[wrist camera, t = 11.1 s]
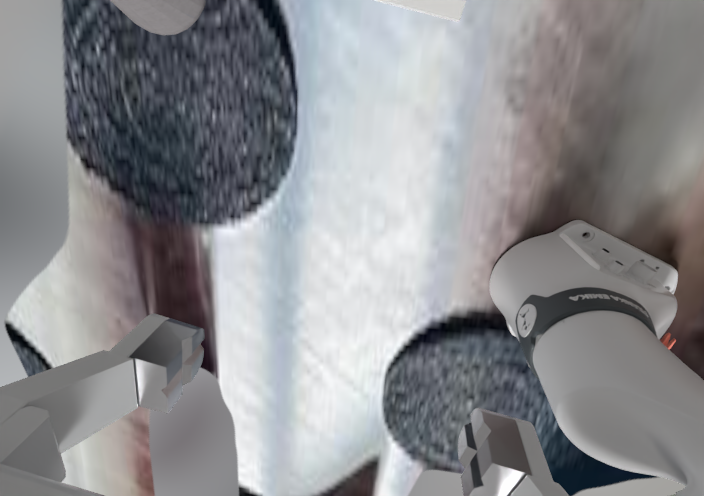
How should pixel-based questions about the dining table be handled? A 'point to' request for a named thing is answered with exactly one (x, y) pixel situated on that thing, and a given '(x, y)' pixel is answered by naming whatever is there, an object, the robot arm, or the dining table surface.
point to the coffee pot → (162, 14)
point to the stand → (432, 7)
